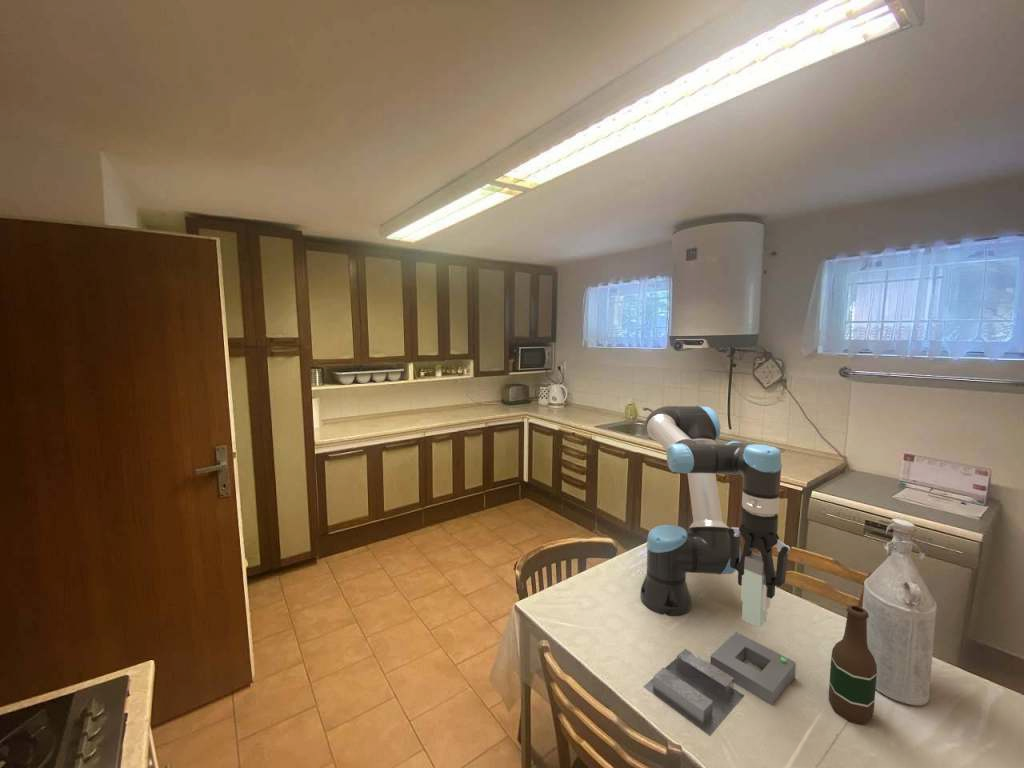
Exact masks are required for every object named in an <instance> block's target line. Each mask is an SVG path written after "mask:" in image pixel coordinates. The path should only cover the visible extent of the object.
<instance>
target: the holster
mask: <svg viewBox="0 0 1024 768" xmlns="http://www.w3.org/2000/svg"><path fill="white" fill-rule="evenodd" d="M734 687H735V683H734V678H733V677H731V676H730V675H728V674H727V673H725V672H723V671H722V670H720V669H718V668H717V667H715V666H713V665H712V664H710V662H708V661H706V660H705V659H703V658H702V657H700V656H698V655H697V654H695V653H693V652H692V651H690V650H689V649H687V648H684V649H683V650H682V651H681V652H680V653H678V654H677V655H676V658H675V659H674V660H673V661H671V662H670V663H669V664H667V666H666V667H662V668H661V669H660V670H658V671H657V673H655V674H654V675H653V677H652V678H651V679H650V680H649V681H648V682H647V683H645V685H643V688H644V689H646V690H647V691H648V692H650V693H651V694H653V695H654V696H655V697H657V698H658V699H659V700H661V701H662V702H663V703H665V704H666V705H667V706H669V707H670V708H671V709H673V710H674V711H676V712H677V713H678V714H680V715H681V716H682V717H684V718H685V719H686V720H688V721H689V722H690V723H691V724H693V725H695V726H696V727H697V728H698V729H700V730H701V731H703V733H705V734H707V735H708V736H710V737H711V735H713V733H714V732H715V731H716V730H717V728H718V727H719V726H720V725H721V723H722V722H723V721H725V719H726V718H728V716H729V714H730V713H731V712H732V711H733V710H734V709H735V707H737V705H739V702H741V700H742V699H743V698H744V697H745V695H744V694H743V693H741V692H740V691H739V690H737V689H735V688H734Z"/></svg>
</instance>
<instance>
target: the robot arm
mask: <svg viewBox="0 0 1024 768" xmlns="http://www.w3.org/2000/svg"><path fill="white" fill-rule="evenodd" d="M644 422H645V423H644V428H645V432H646V434H647V435H648V437H650V438H651V439H652V440H653V441H654V442H655V441H656V442H658V443H659V445H660V446H662V448H663V449H664V450H665V451H666V462H667V463H666V464H667V465H668V469H669V470H670V471H671V472H672V473H681V474H684V475H685V474H687V479H688V488H689V495H690V496H689V497H690V504H691V511H692V512H691V514H692V520H693V521H692V523H691V524H690V526H689V528H688V529H689V530H688V531H689V532H688V531H687V530H686V529H685V527H684V528H683V527H682V526H678V525H677V526H676V525H674V524H661V525H657V526H654V527H653V528H652V529H650V531H649V532H648V535H647V539H646V549H647V550H646V573H645V574H646V575H645V577H644V580H643V582H642V585H641V587H640V601H641V603H643V604H644V605H645V606H646V607H647V608H649V609H650V610H651V611H654V612H656V613H659V614H662V615H667V616H681V615H686V614H687V613H688V612H689V611H690V610H691V608H692V596H691V595H690V594H691V593H690V590H689V588H688V584H687V580H686V579H687V573H693V574H715V575H730V574H734V573H735V572H737V584H738V586H740V588H741V589H740V591H741V592H740V601H741V602H743V585H744V563H745V557H746V556H749V555H750V554H752V552H753V550H754V549H755V550H758V551H759V552H760V553H759V554H760V555H761V556H762V559H763V562H764V571H765V577H766V582H765V583H763V592H762V610H763V611H766V610H767V611H768V609H769V608H770V605H771V599H773V598H774V597H775V594H776V587H778V588H780V587H782V586H783V585H784V584H785V583H786V576H787V566H788V557H789V556H788V555H789V553H790V552H791V551H792V545H791V544H789V543H787V544H785V543H784V542H783V541H781V540H780V537H779V535H778V529H779V514H778V513H779V511H780V510H779V507H780V506H779V505H780V489H781V476H782V474H781V473H782V467H783V466H782V465H783V464H782V453H781V450H780V449H779V448H777V447H775V446H770V445H767V444H757V443H755V444H747V443H746V444H745V442H740V441H735V440H734V441H729V442H726V443H725V444H722V443H721V444H716V443H717V441H716V440H718V439H719V438H720V435H721V424H720V419H719V417H718V414H717V413H716V411H715V410H714V409H712V408H711V407H710V406H702V405H701V406H700V405H695V406H694V405H693V406H692V405H691V406H690V405H687V406H686V405H684V406H683V405H681V406H679V405H675V406H673V405H666V406H662V407H657V409H654V410H653V411H651V412H650V413H649V414H648V416H647V417H646V418H645V421H644ZM717 474H719V475H720V474H721V475H723V474H724V475H725V474H726V475H739V476H740V477H742V495H741V496H742V497H741V507H742V509H741V515H740V516H741V517H740V522H741V523H740V526H739V527H736V526H731V527H730V526H728V525H726V524H725V522H724V521H723V515H722V507H721V502H720V496H719V495H720V494H719V488H718V482H717V476H716V475H717ZM741 537H742V538H743V540H744V541H745V542H744V543H743V544H744V545H743V550H742V552H741V546H740V544H741V543H740V542H741V541H740V538H741ZM774 546H777V548H776V550H777V552H778V554H777V560H776V569H775V565H774V559H773V555H772V554H773V547H774ZM741 553H742V554H741ZM775 570H776V571H775Z"/></svg>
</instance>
